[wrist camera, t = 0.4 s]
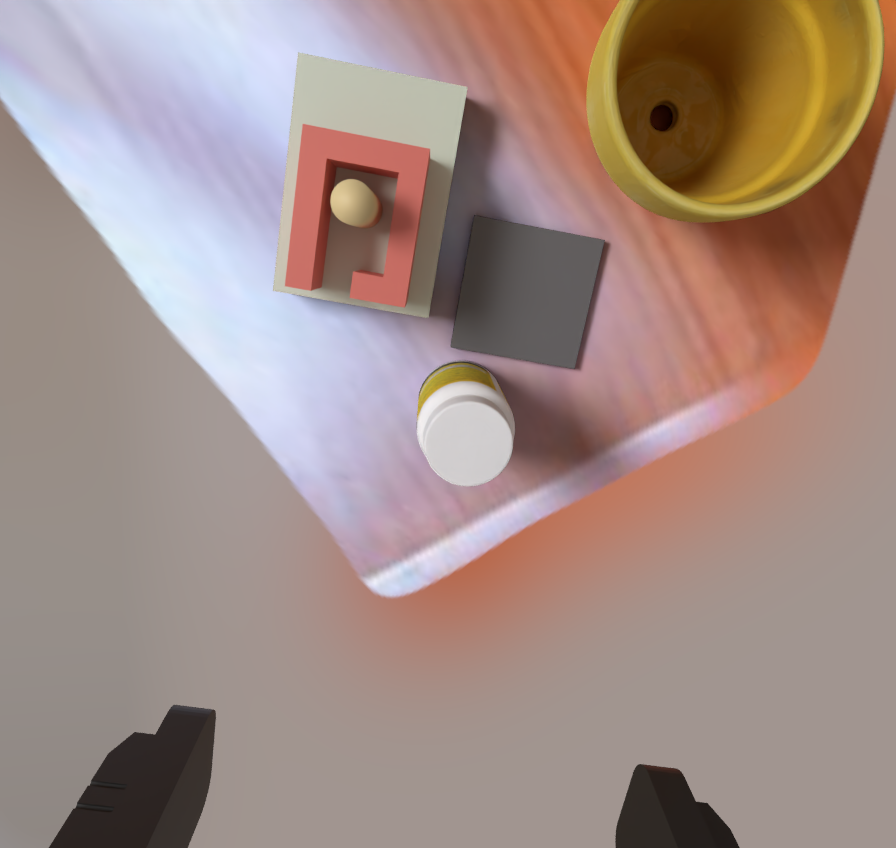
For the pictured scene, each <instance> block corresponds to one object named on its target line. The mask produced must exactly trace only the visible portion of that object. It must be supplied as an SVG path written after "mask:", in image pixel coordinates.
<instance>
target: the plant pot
mask: <svg viewBox="0 0 896 848" xmlns="http://www.w3.org/2000/svg"><path fill="white" fill-rule="evenodd" d="M883 60H884V27H883V20H882V14H881V10H880V6H879V2H878V0H620V1H619V3H618V5H617V6H616V8H615V9H614V11H613V13H612V14H611V16H610V18H609V20H608V22H607V24H606V26H605V28H604V30H603V31H602V34H601V36H600V39H599V41H598V43H597V46H596V49H595V52H594V55H593V58H592V62H591V66H590V71H589V76H588V84H587V118H588V124H589V129H590V134H591V138H592V141H593V144H594V147H595V150H596V152H597V154H598V157H599V159H600V161H601V163H602V165H603V166H604V168H605V170H606V171H607V173H608V175H609V176H610V177H611V179H612V180H613V181H614V182H615V184H616V185H617V186H618V187H619V188H620V189H621V190H622V191H623V192H624V194H626V195H627V196H628V197H629V198H631V199H632V200H633V201H634V202H636V203H637V204H639V205H640V206H642V207H643V208H645V209H647V210H649V211H651V212H653V213H655V214H658V215H660V216H663V217H666V218H670V219H674V220H679V221H685V222H721V221H730V220H737V219H742V218H747V217H752V216H756V215H760V214H763V213H766V212H769V211H772V210H774V209H777V208H779V207H781V206H784V205H786V204H788V203H789V202H791V201H793V200H795V199H797V198H798V197H800V196H801V195H803V194H804V193H806V192H807V191H808V190H810V189H811V188H812V187H814V186H815V185H816V184H817V183H819V182H820V181H821V180H822V179H823V178H824V177H825V176H826V175H827V174H828V173H829V172H830V171H831V170H832V169H833V168H834V167H835V166H836V165H837V164H838V163H839V162H840V160H841V159H842V158H843V157H844V156H845V154H846V153H847V152H848V150H849V149H850V147H851V146H852V145H853V143H854V142H855V140H856V138H857V137H858V135H859V133H860V132H861V130H862V128H863V126H864V124H865V122H866V120H867V118H868V116H869V113H870V111H871V108H872V106H873V104H874V101H875V98H876V94H877V91H878V87H879V83H880V78H881V73H882V67H883ZM659 105H666V106H668V107H669V108H670V109H671V111H672V113H673V121H672V124H671V126H670V127H669V128H668V129H667V130H665V131H659V130H657V129H654V128H653V126H652V125H651V122H650V115H651V112H652V110H653V109H654V108H655V107H657V106H659Z"/></svg>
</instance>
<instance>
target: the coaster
mask: <svg viewBox="0 0 896 848" xmlns="http://www.w3.org/2000/svg"><path fill="white" fill-rule="evenodd" d="M604 241H605V240H601V239H596V238H591V237H586V236H580V235H575V234H570V233H565V232H559V231H554V230H549V229H544V228H538V227H533V226H528V225H523V224H518V223H512V222H507V221H502V220H497V219H491V218H486V217H481V216H476V215H474V219H473V225H472V231H471V236H470V242H469V247H468V253H467V258H466V264H465V269H464V275H463V280H462V286H461V291H460V297H459V302H458V308H457V313H456V319H455V324H454V330H453V336H452V341H451V347H452V348H458V349H463V350H469V351H475V352H481V353H486V354H492V355H498V356H503V357H509V358H515V359H520V360H526V361H532V362H538V363H543V364H549V365H555V366H560V367H566V368H572V369H575V365H576V360H577V356H578V352H579V348H580V343H581V339H582V335H583V331H584V326H585V322H586V318H587V313H588V309H589V305H590V301H591V296H592V292H593V288H594V284H595V279H596V275H597V271H598V266H599V262H600V258H601V254H602V249H603V245H604Z"/></svg>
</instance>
